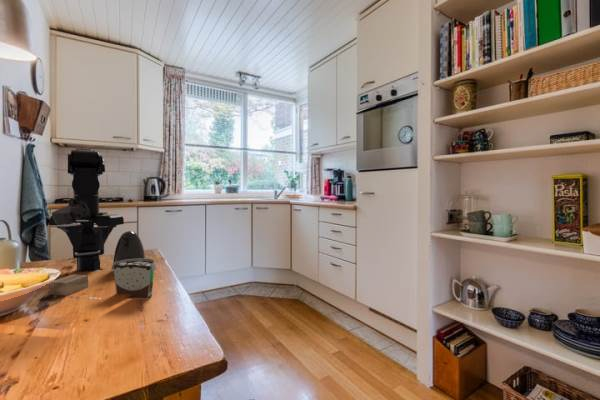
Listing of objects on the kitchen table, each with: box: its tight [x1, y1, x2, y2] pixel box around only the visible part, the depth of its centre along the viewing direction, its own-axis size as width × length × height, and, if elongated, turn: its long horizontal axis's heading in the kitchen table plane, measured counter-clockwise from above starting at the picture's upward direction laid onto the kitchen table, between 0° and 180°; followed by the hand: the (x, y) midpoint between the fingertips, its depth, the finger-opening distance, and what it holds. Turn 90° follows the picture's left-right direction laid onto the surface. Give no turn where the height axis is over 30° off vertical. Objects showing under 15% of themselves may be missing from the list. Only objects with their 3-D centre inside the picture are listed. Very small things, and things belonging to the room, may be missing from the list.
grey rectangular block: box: [49, 274, 89, 296], centre depth 83 cm, size 5×7×4 cm
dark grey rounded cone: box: [112, 230, 146, 263], centre depth 104 cm, size 10×10×15 cm
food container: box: [110, 258, 158, 300], centre depth 83 cm, size 12×6×10 cm, turn 85°
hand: (87, 250), depth 82 cm, fingers open, 7 cm apart
